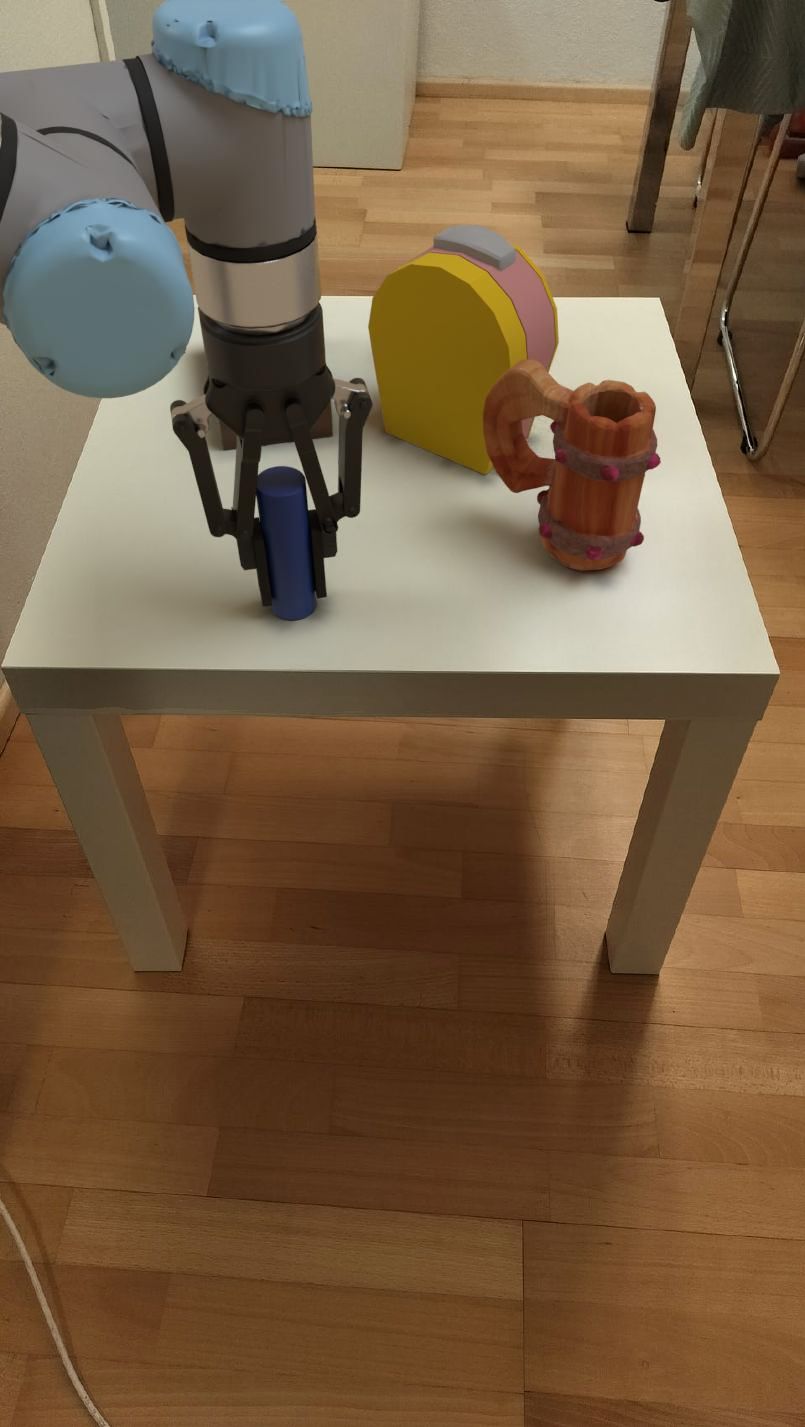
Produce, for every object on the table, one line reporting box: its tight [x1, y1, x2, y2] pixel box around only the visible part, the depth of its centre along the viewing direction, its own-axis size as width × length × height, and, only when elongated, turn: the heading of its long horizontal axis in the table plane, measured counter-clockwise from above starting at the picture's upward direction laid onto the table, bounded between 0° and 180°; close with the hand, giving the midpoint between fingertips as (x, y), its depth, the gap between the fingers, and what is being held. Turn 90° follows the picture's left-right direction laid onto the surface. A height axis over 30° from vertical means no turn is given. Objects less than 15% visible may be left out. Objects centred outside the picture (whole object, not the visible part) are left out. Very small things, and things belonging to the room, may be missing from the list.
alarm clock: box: [367, 224, 560, 476], centre depth 88 cm, size 15×8×18 cm, turn 54°
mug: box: [483, 359, 662, 571], centre depth 79 cm, size 15×8×15 cm, turn 58°
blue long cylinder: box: [256, 465, 317, 621], centre depth 75 cm, size 4×4×12 cm
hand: (292, 589), depth 78 cm, fingers closed on blue long cylinder, 4 cm apart
